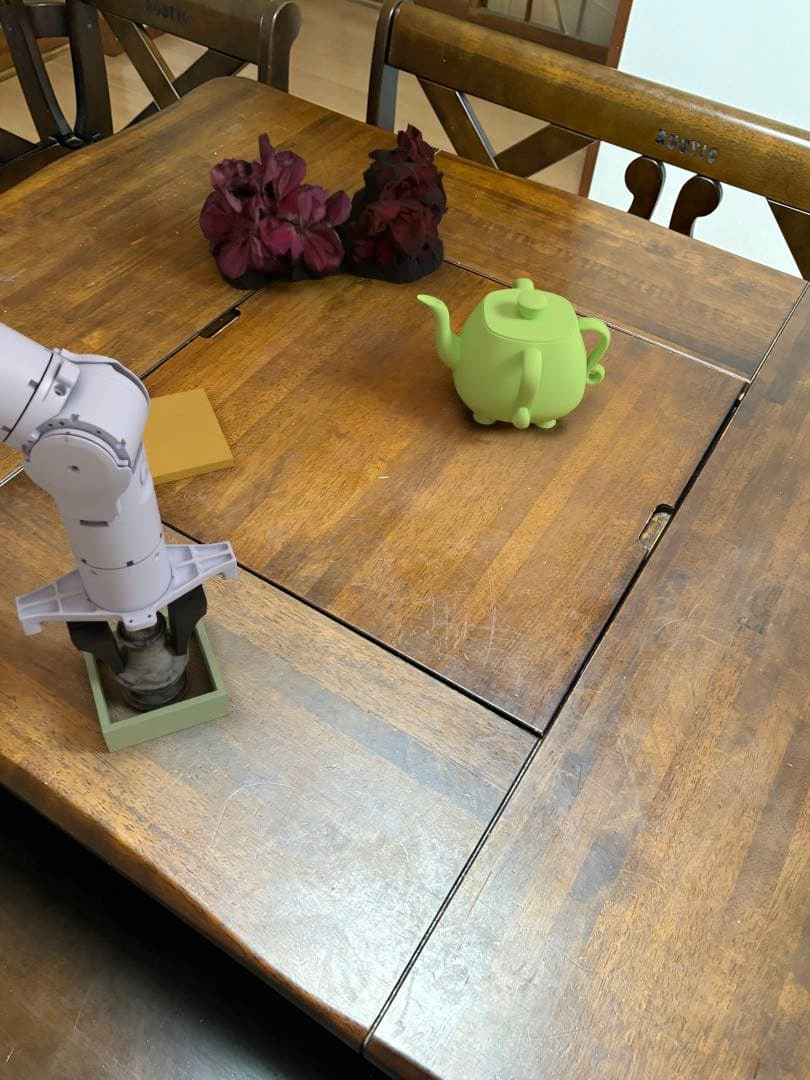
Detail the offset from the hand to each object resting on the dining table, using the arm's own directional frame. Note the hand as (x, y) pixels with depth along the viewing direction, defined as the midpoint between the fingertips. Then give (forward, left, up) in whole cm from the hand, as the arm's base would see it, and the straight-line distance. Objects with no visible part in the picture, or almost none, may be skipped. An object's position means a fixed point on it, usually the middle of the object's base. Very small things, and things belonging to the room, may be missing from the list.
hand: (148, 654), depth 69 cm
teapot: (+42, +22, -4) cm, 48 cm away
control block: (+6, +27, -4) cm, 28 cm away
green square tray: (0, 0, -4) cm, 4 cm away
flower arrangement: (+34, +53, -4) cm, 63 cm away
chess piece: (0, 0, -4) cm, 4 cm away
